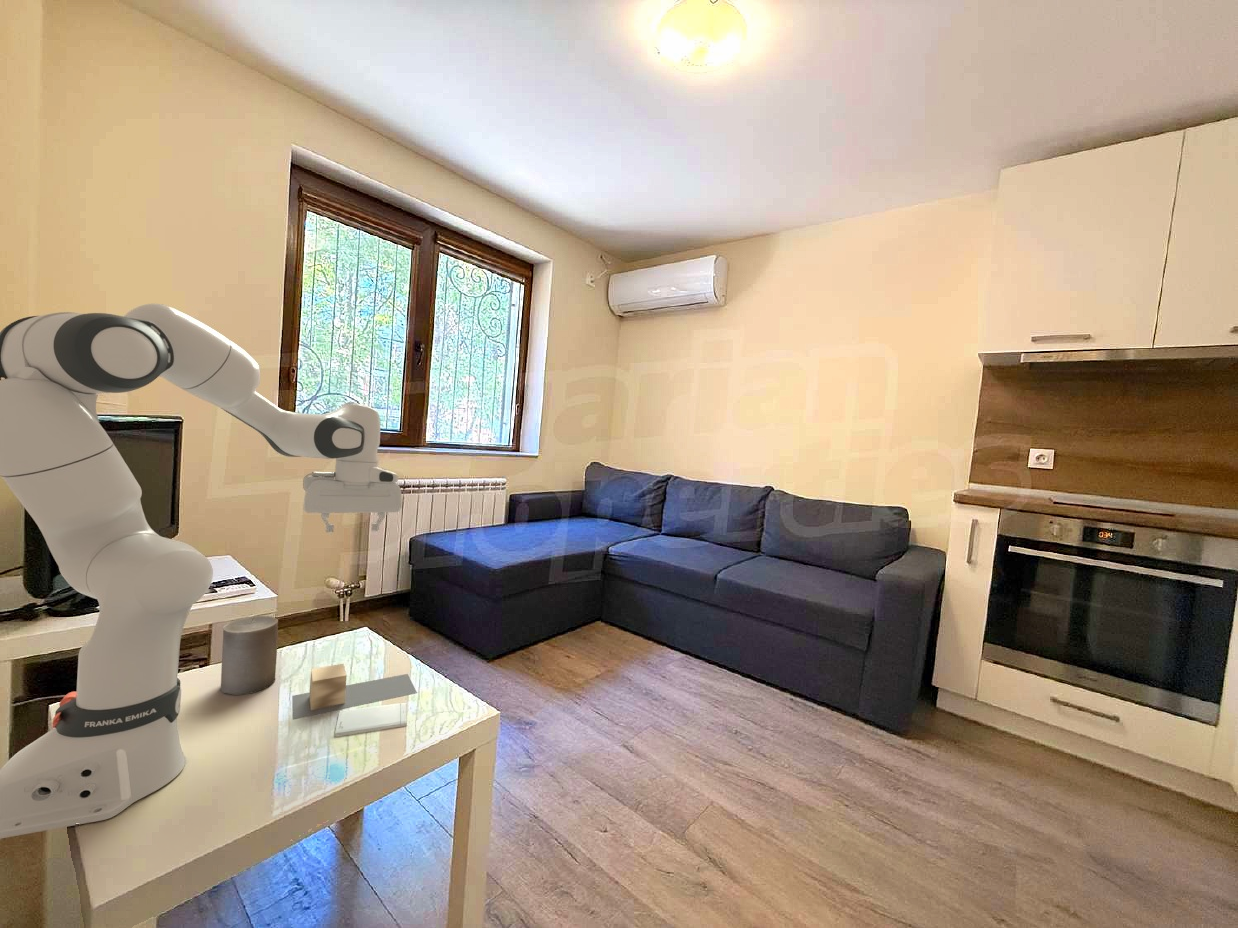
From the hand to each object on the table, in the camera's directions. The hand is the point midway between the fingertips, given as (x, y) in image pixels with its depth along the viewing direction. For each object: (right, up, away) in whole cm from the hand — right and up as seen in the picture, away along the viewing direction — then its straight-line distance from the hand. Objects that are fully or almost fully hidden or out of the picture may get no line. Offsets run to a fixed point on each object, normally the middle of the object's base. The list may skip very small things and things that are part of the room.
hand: (352, 531), depth 112 cm
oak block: (+1, -28, -12) cm, 31 cm away
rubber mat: (+5, -35, -8) cm, 36 cm away
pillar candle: (-19, -33, -7) cm, 39 cm away
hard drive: (+13, -37, -17) cm, 42 cm away
